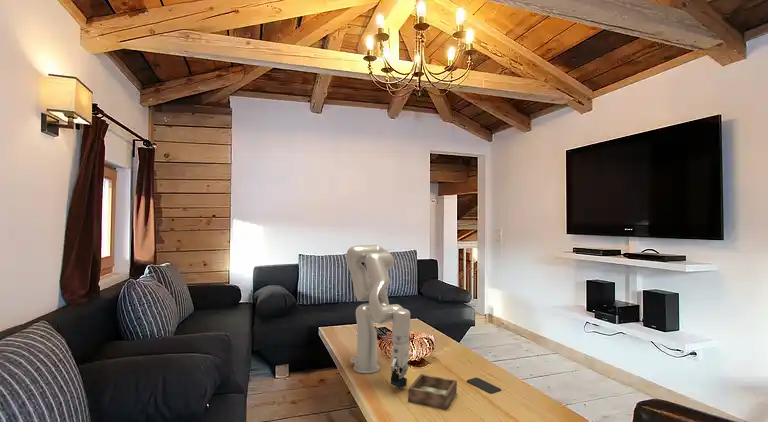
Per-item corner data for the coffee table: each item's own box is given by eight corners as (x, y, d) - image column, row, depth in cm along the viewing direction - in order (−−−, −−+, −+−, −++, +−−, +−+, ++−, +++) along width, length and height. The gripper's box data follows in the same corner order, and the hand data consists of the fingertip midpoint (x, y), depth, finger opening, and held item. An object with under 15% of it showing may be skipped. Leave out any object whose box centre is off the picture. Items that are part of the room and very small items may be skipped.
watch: (409, 384, 181) (410, 359, 180) (396, 389, 175) (397, 364, 175) (400, 379, 185) (401, 355, 184) (387, 384, 179) (388, 359, 179)
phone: (490, 393, 176) (465, 380, 189) (490, 395, 176) (465, 382, 189) (502, 389, 180) (476, 377, 193) (502, 391, 180) (476, 378, 193)
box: (408, 401, 168) (408, 388, 168) (420, 386, 183) (420, 373, 183) (446, 410, 162) (446, 396, 162) (456, 393, 176) (456, 380, 176)
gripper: (401, 346, 170) (399, 388, 170) (415, 333, 186) (413, 372, 186) (384, 342, 173) (382, 384, 173) (399, 330, 189) (398, 368, 189)
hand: (398, 377), depth 180 cm, fingers closed on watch, 8 cm apart
